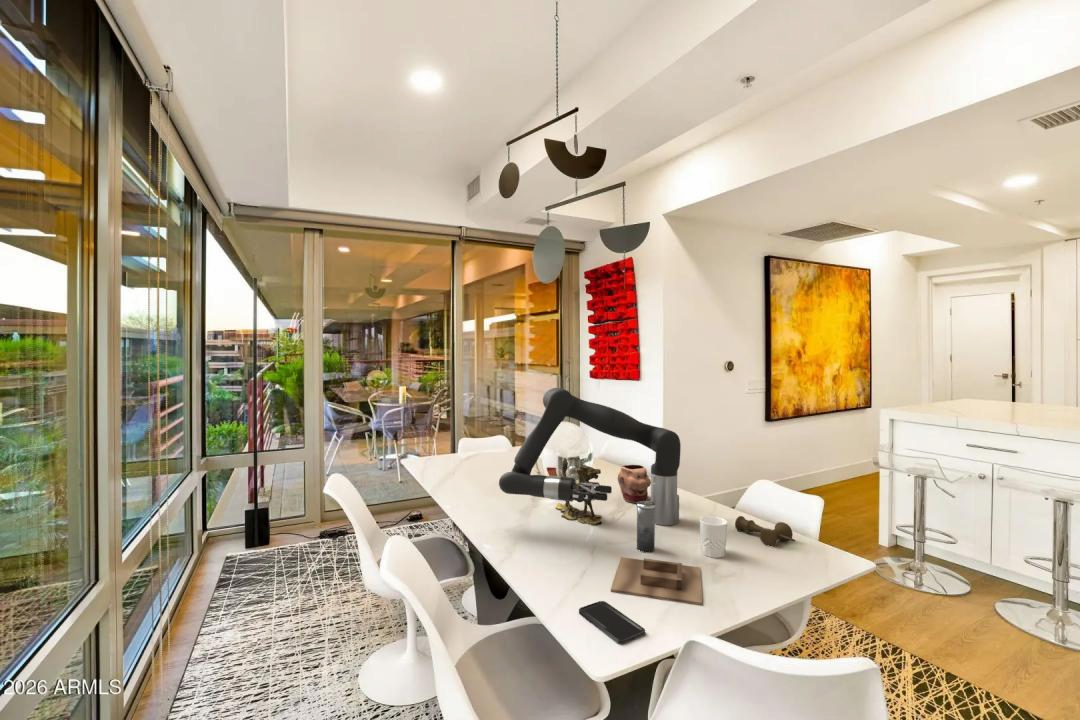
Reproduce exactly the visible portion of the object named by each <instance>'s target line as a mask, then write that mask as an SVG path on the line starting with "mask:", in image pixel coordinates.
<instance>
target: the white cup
mask: <svg viewBox="0 0 1080 720" xmlns="http://www.w3.org/2000/svg"><path fill="white" fill-rule="evenodd" d="M727 532H728V521H727V520H726V519H724V518H722V517H718V516H712V515H711V516H710V515H706V516H701V517H700V518H699V535H700V536H699V537H700V551H701V553H702V555H704V556H707V557H709V558H714V559H720V558H724V557H725V555H726V547H727V536H728V533H727Z"/></svg>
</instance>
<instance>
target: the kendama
mask: <svg viewBox="0 0 1080 720" xmlns="http://www.w3.org/2000/svg"><path fill="white" fill-rule="evenodd" d="M734 527H735V529H736V530H737V531H738V530H742V531H745V532H746V533H748V534H752V533H759V537H760V541H761V542H762V544H764V545H765V544H766V545H765V546H767V545H769V546H768V547H770V546H773V547H775V546H776V544H777V542H778V540H781V541H782V540H783V542H790V541H791V542H795V541H796V539H795V538H793V530H792V528H791V526H790V525H789V524H788V523H785V522H781V521H780V522H777V523H776V524H775V525H774V529H770V528H765V527H762V526H760V525H759V524H757V523H756V522H755V521H754V520H752V519H750V520H749V519H746V518H745V516H742V515H739V516H737V518H736V519H735V521H734Z"/></svg>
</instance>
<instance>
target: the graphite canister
mask: <svg viewBox="0 0 1080 720" xmlns="http://www.w3.org/2000/svg"><path fill="white" fill-rule="evenodd" d="M655 529H656V523H655V503H653V502H651V501H648V500H647V501H640V502H637V503H636V550H637V549H638V550H637V551H639V550H640V551H639V552H641V551H642V553H646V552H649V553H653V552H654V551H655V550H656V549H655V548H656V547H655V546H656V545H655V544H656V542H655V541H656V539H655V538H656V530H655Z"/></svg>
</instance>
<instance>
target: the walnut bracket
mask: <svg viewBox="0 0 1080 720" xmlns="http://www.w3.org/2000/svg"><path fill="white" fill-rule="evenodd" d="M615 571H616V572H615V575H614V578H613V581H612V584H611V587H610V592H611V593H617V594H618V593H619V594H624V595H631V596H637V597H638V596H639V597H647V598H653V599H658V600H663V601H664V600H665V601H671V602H672V601H673V602H677V603H678V602H679V603H685V604H691V605H697V606H703V596H702V595H703V594H702V591H703V590H702V578H701V566H700V567H699V566H692V565H687V564H686V565H684V564H683V563H682V562H681V563H680V562H675V561H667V560H661V559H660V560H659V559H658V560H657V559H651V558H643V559H638V558H630V557H622V556H621V557H620V559H619V562H618V565H617V568H616V570H615Z"/></svg>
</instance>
